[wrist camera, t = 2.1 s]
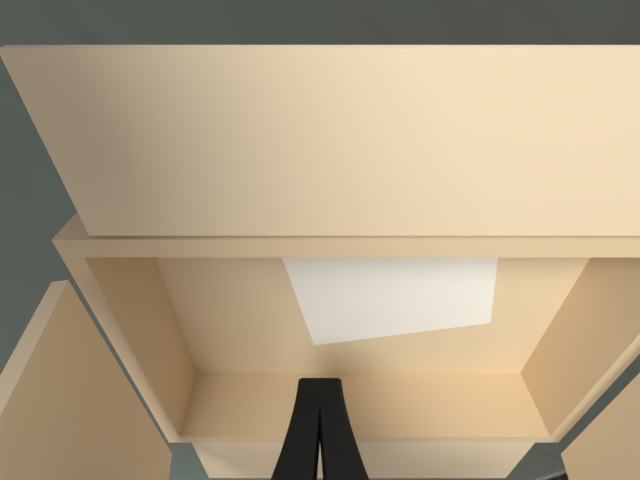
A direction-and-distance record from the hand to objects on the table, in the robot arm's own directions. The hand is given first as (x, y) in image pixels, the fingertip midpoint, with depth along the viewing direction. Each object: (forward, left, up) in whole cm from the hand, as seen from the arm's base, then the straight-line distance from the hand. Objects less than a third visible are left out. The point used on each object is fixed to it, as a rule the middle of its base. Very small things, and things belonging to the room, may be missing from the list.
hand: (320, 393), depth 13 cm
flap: (0, -6, +2) cm, 6 cm away
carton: (0, +2, -4) cm, 5 cm away
